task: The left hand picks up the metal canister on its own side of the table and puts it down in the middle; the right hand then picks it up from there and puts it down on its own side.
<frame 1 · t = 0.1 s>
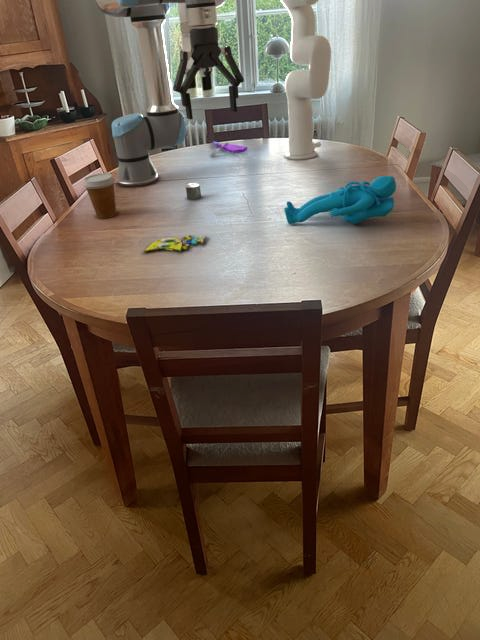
left hand: (212, 115, 136), 28 cm above the table, tool pointing down, fingers open, 13 cm apart
right hand: (199, 89, 159), 31 cm above the table, tool pointing down, fingers open, 9 cm apart
canister: (194, 197, 163), on the table
disposable coffee cup: (106, 215, 155), on the table
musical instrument: (222, 151, 214), on the table
toy: (337, 221, 135), on the table
toy 2: (176, 245, 130), on the table
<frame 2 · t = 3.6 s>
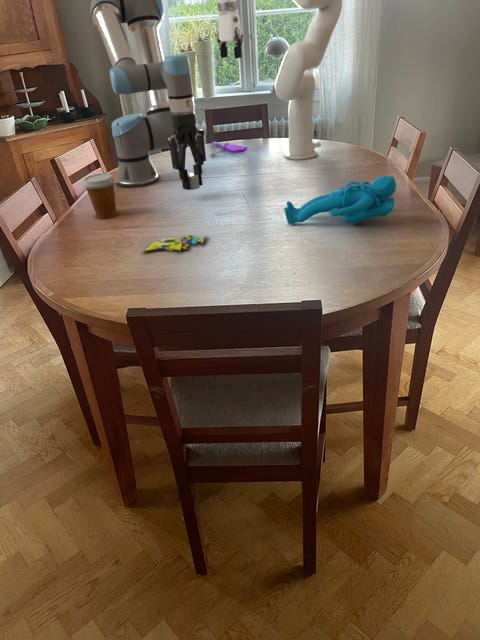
left hand: (192, 186, 161), 4 cm above the table, tool pointing down, fingers closed on canister, 5 cm apart
right hand: (231, 57, 197), 36 cm above the table, tool pointing down, fingers open, 9 cm apart
canister: (192, 187, 161), point 4 cm above the table, touching left hand
everything else where it was.
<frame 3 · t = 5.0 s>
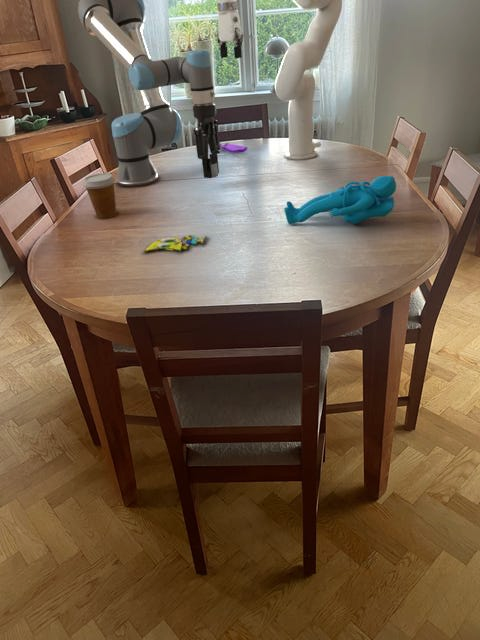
left hand: (211, 175, 169), 4 cm above the table, tool pointing down, fingers closed on canister, 5 cm apart
right hand: (231, 57, 197), 36 cm above the table, tool pointing down, fingers open, 9 cm apart
canister: (211, 175, 170), point 4 cm above the table, touching left hand
everything else where it was.
when the left hand's fingers open (1 cm above the table, at t = 6.9 s): canister stays where it is, on the table.
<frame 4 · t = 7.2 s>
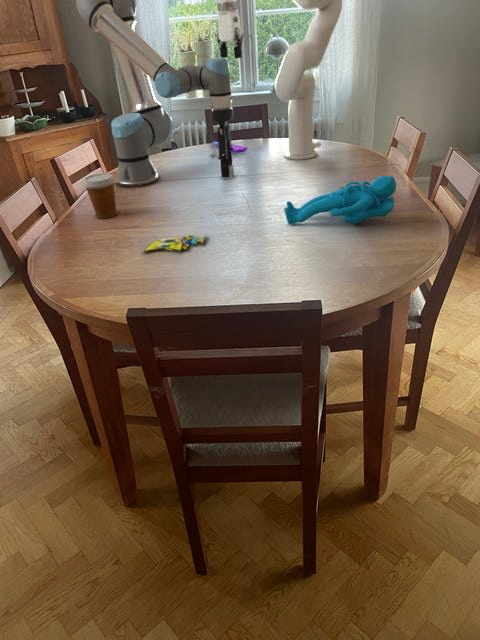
left hand: (227, 172, 179), 2 cm above the table, tool pointing down, fingers open, 9 cm apart
right hand: (231, 57, 197), 36 cm above the table, tool pointing down, fingers open, 9 cm apart
canister: (227, 177, 180), on the table
everything else where it was.
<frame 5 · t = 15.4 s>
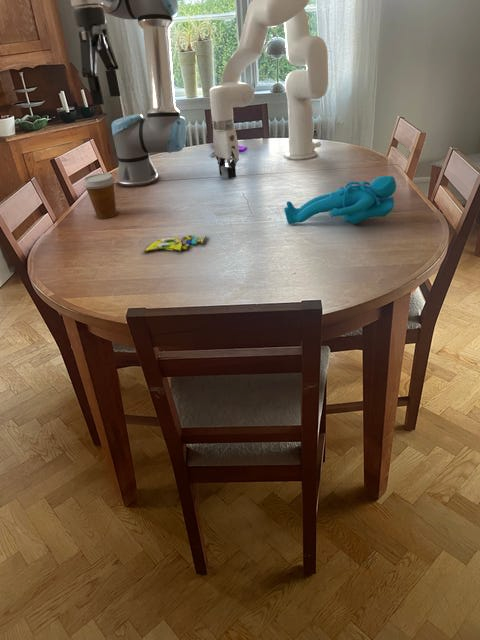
left hand: (107, 100, 131), 34 cm above the table, tool pointing down, fingers open, 13 cm apart
right hand: (227, 175, 180), 1 cm above the table, tool pointing down, fingers closed on canister, 4 cm apart
canister: (227, 177, 180), on the table, touching right hand
everything else where it was.
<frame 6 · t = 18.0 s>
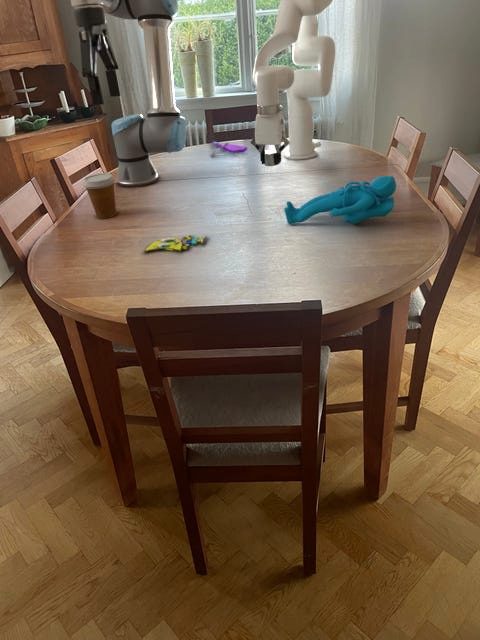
left hand: (107, 100, 131), 34 cm above the table, tool pointing down, fingers open, 13 cm apart
right hand: (271, 163, 174), 5 cm above the table, tool pointing down, fingers closed on canister, 4 cm apart
canister: (270, 164, 175), point 4 cm above the table, touching right hand
everything else where it was.
when the right hand's fingers open (1 cm above the table, at t = 21.1 s): canister stays where it is, on the table.
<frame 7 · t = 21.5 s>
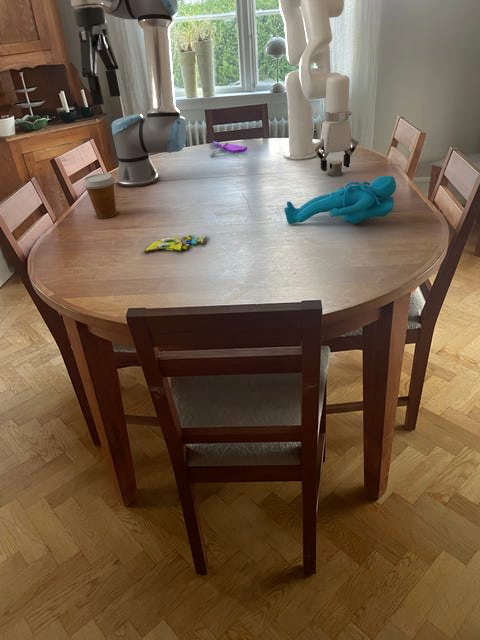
left hand: (107, 100, 131), 34 cm above the table, tool pointing down, fingers open, 13 cm apart
right hand: (335, 168, 171), 2 cm above the table, tool pointing down, fingers open, 8 cm apart
canister: (334, 174, 172), on the table
everything else where it was.
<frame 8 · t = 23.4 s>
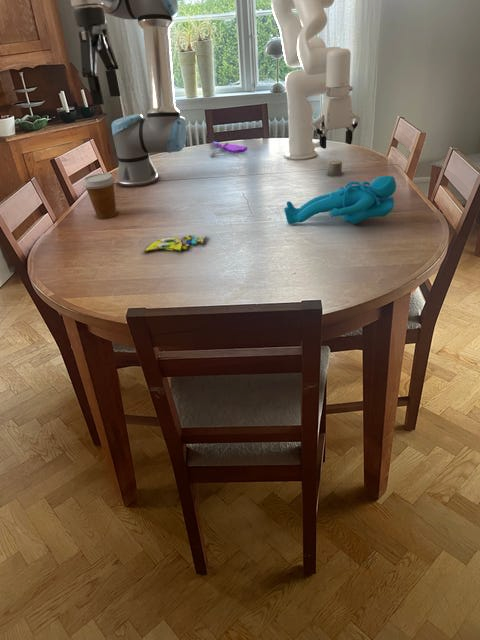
left hand: (107, 100, 131), 34 cm above the table, tool pointing down, fingers open, 13 cm apart
right hand: (335, 145, 167), 10 cm above the table, tool pointing down, fingers open, 9 cm apart
nothing on the table moved.
at the end: canister inside the target area (0.1 cm from its centre), on the table; canister tilted 0°; the two hands never held the canister at the same time; the left hand is holding nothing; the right hand is holding nothing; canister at rest at the end (0.0 cm/s) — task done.
